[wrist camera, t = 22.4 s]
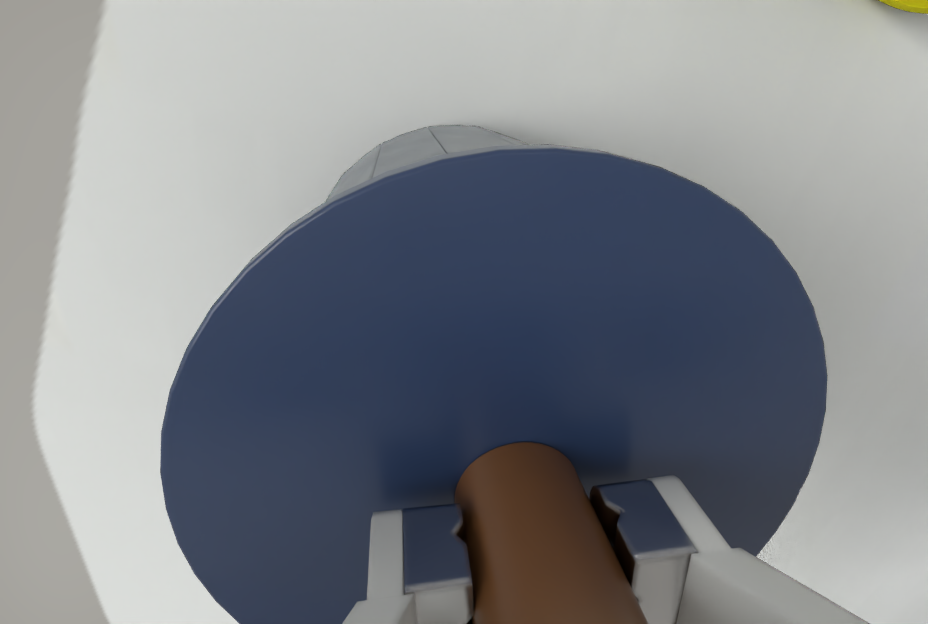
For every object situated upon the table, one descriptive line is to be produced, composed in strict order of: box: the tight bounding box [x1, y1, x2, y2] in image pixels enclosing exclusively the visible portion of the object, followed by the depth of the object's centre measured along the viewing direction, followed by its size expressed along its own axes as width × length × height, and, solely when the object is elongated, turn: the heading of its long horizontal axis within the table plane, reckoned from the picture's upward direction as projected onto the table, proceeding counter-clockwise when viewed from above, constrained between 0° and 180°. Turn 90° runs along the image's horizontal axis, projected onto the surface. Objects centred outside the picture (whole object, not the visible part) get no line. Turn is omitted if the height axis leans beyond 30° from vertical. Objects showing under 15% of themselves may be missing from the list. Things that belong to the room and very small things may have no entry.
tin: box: [325, 125, 529, 202], centre depth 17 cm, size 12×12×9 cm
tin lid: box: [160, 144, 827, 624], centre depth 8 cm, size 13×13×5 cm
